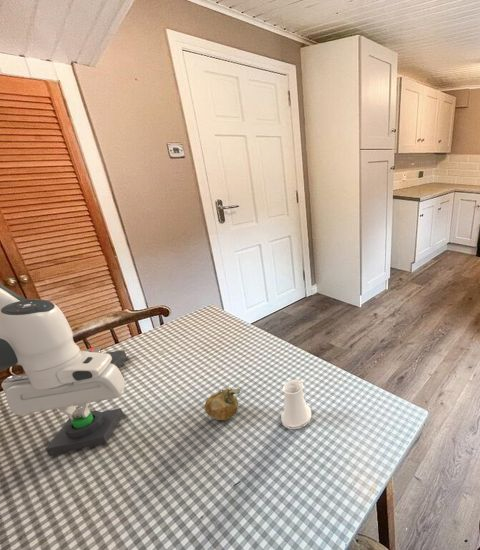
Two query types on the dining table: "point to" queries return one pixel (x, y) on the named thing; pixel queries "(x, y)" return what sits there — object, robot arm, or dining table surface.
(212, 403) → the onion
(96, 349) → the program dial
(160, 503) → the dining table surface
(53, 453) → the block
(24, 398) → the robot arm
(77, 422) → the button
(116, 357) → the dial panel
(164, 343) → the dining table surface
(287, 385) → the vase
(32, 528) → the dining table surface
